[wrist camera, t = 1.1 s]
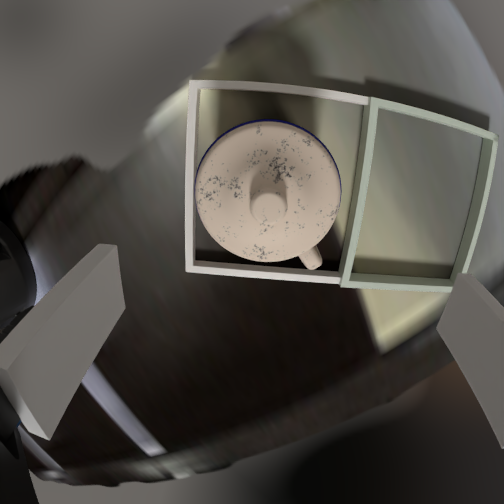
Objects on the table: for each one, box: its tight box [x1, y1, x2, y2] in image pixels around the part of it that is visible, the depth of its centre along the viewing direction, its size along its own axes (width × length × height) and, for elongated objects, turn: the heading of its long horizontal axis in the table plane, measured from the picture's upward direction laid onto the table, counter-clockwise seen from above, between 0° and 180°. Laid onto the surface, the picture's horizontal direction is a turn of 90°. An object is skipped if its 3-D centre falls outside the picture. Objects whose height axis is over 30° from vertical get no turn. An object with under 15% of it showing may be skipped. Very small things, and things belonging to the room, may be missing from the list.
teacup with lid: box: [194, 119, 341, 270], centre depth 22 cm, size 12×9×12 cm
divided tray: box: [185, 80, 499, 292], centre depth 27 cm, size 29×17×2 cm, turn 86°
